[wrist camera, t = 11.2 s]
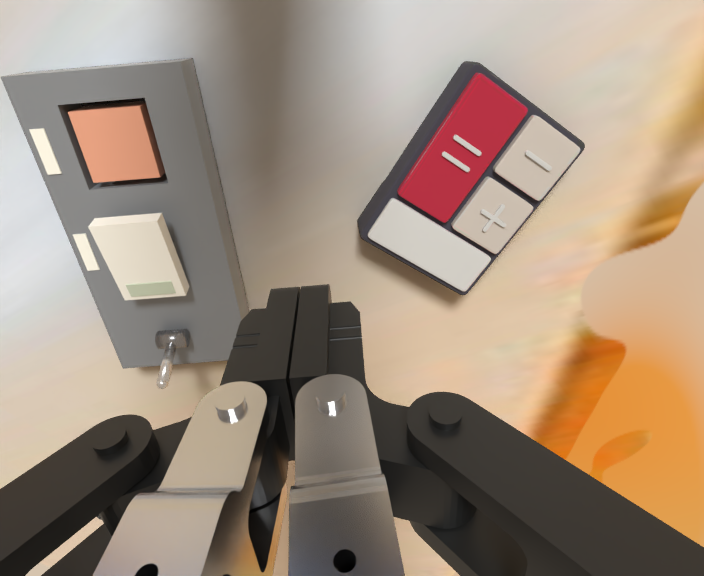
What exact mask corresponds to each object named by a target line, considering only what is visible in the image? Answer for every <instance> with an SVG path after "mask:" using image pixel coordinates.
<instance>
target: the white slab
mask: <svg viewBox="0 0 704 576" xmlns="http://www.w3.org/2000/svg"><path fill="white" fill-rule="evenodd" d="M88 228H89V230H90V232H91V234H92V236H93V238H94V240H95V242H96V244H97V246H98V248H99V250H100V252H101V254H102V256H103V258H104V260H105V262H106V264H107V266H108V268H109V270H110V272H111V274H112V276H113V278H114V280H115V282H116V284H117V286H118V288H119V290H120V292H121V294H122V296H123V298H124V300H137V299H150V298H162V297H175V296H186V294H187V291H188V289H189V284H188V281H187V279H186V276H185V273H184V271H183V268H182V265H181V263H180V260H179V257H178V255H177V252H176V249H175V247H174V244H173V241H172V239H171V236H170V233H169V231H168V228H167V225H166V223H165V220H164V217H163V215H162V213H153V214H141V215H129V216H116V217H104V218H94V220H93V221H92V222H91V224H90V225H89V226H88Z"/></svg>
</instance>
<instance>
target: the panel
mask: <svg viewBox="0 0 704 576" xmlns="http://www.w3.org/2000/svg"><path fill="white" fill-rule="evenodd" d="M1 79H2V81H3V84H4V86H5V89H6V91H7V93H8V96H9V98H10V100H11V103H12V105H13V108H14V110H15V112H16V115H17V117H18V120H19V122H20V124H21V127H22V129H23V131H24V134H25V136H26V139H27V141H28V143H29V146H30V148H31V150H32V153H33V155H34V158H35V160H36V162H37V165H38V167H39V170H40V172H41V174H42V177H43V179H44V181H45V184H46V186H47V189H48V191H49V193H50V196H51V198H52V200H53V203H54V205H55V208H56V210H57V212H58V215H59V217H60V220H61V222H62V224H63V227H64V229H65V231H66V234H67V236H68V239H69V241H70V243H71V246H72V248H73V250H74V253H75V255H76V258H77V260H78V262H79V265H80V267H81V270H82V272H83V274H84V277H85V279H86V281H87V284H88V286H89V289H90V291H91V293H92V296H93V298H94V301H95V303H96V305H97V308H98V310H99V312H100V315H101V317H102V320H103V322H104V324H105V327H106V329H107V331H108V334H109V336H110V339H111V341H112V343H113V346H114V348H115V351H116V353H117V355H118V358H119V360H120V362H121V365H122V367H123V368H136V367H148V366H161V363H162V359H163V355H164V350H165V349H158V348H157V346H156V343H155V336H156V333H157V331H163V330H176V329H188V331H189V334H190V343H189V346H188V347H181V348H176V352H175V357H174V361H173V365H174V364H187V363H200V362H212V361H225V360H228V359H229V356H230V353H231V349H233V343H234V340H235V338H236V334H237V330H238V327H239V324H240V321H241V320H242V319H243V318H244V317H245V316H246V315H247V314H248V313H249V308H248V304H247V299H246V295H245V290H244V286H243V281H242V277H241V272H240V268H239V263H238V259H237V254H236V250H235V245H234V241H233V236H232V232H231V228H230V223H229V219H228V214H227V210H226V205H225V201H224V196H223V192H222V187H221V183H220V178H219V174H218V169H217V165H216V160H215V156H214V151H213V147H212V142H211V138H210V134H209V129H208V125H207V120H206V116H205V111H204V107H203V102H202V98H201V93H200V89H199V84H198V80H197V75H196V71H195V66H194V62H193V58H188V59H177V60H165V61H153V62H142V63H130V64H118V65H106V66H95V67H83V68H71V69H60V70H48V71H36V72H26V73H20V74H14V75H9V76H3V77H1ZM135 98H145V101H146V105H147V108H148V112H149V116H150V119H151V123H152V126H153V130H154V133H155V137H156V140H157V144H158V147H159V151H160V155H161V158H162V162H163V165H164V169H165V172H166V173H164V174H163V175H162V176H161V177H158V178H146V179H134V180H122V181H110V182H98V183H93V180H92V177H91V175H90V172H89V169H88V166H87V164H86V161H85V158H84V155H83V153H82V150H81V147H80V145H79V142H78V139H77V136H76V134H75V131H74V128H73V125H72V123H71V120H70V117H69V114H68V112H69V111H72V110H75V109H78V108H81V104H80V103H88V102H100V101H112V100H124V99H135ZM153 213H162V215H163V217H164V220H165V223H166V225H167V228H168V231H169V233H170V236H171V239H172V241H173V244H174V247H175V249H176V252H177V255H178V257H179V260H180V263H181V265H182V268H183V271H184V273H185V276H186V279H187V281H188V284H189V289H188V291H187V294H186V296H175V297H162V298H150V299H137V300H124V298H123V296H122V294H121V292H120V290H119V288H118V286H117V284H116V282H115V280H114V278H113V276H112V274H111V272H110V270H109V268H108V266H107V264H106V262H105V260H104V258H103V256H102V254H101V252H100V250H99V248H98V246H97V244H96V242H95V240H94V238H93V236H92V234H91V232H90V230H89V228H88V226H89V225H90V224H91V222H92V221H93V220H94V218H104V217H116V216H129V215H141V214H153Z"/></svg>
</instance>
